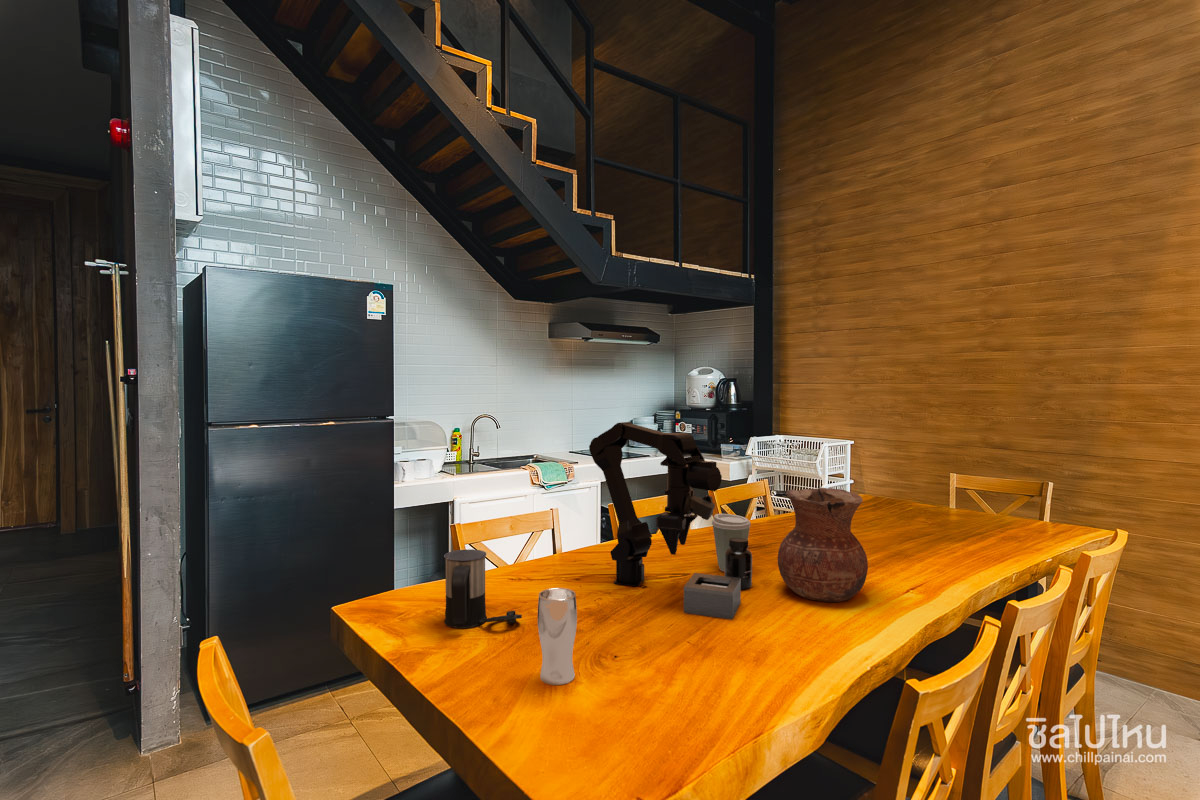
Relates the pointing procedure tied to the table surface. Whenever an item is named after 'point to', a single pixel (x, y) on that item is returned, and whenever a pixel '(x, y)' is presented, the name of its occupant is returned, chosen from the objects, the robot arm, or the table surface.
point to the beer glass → (557, 634)
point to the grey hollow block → (712, 596)
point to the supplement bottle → (739, 561)
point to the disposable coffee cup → (728, 533)
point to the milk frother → (468, 590)
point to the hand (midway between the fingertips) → (678, 549)
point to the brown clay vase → (823, 546)
